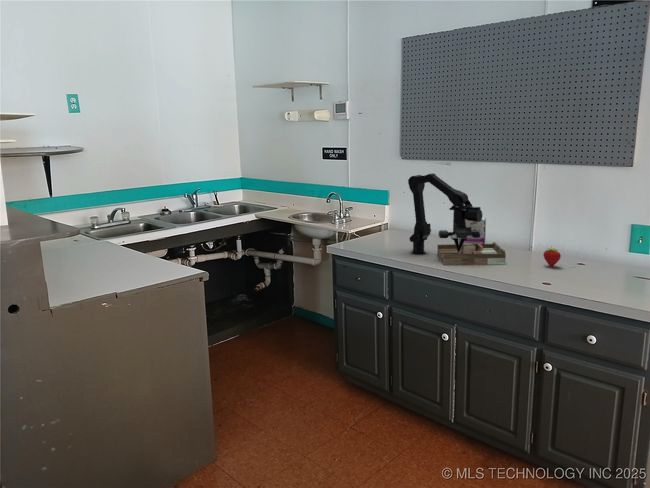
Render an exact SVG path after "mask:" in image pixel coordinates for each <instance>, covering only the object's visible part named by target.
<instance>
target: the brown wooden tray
mask: <svg viewBox="0 0 650 488" xmlns="http://www.w3.org/2000/svg"><path fill="white" fill-rule="evenodd" d="M474 245H475V252H474V251H472V254H463V253H462V252H461V249H460V251H457V248H456V245H455V243H454V244H450V243H449V244H437V256H438V258H439V260H440V261H441V263H442V265H443V266H468V265H469V266H470V265H471V266H473V265H474V266H475V265H477V266H478V265H483V266H484V265H489V266H490V265H491V266H492V265H505V264H506V255H507V254H506V250H504V248H502V247H501V246H500V245H499V244H498V243H496V242H495V241H494V242H493V241H492V243H485V244H474Z"/></svg>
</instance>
